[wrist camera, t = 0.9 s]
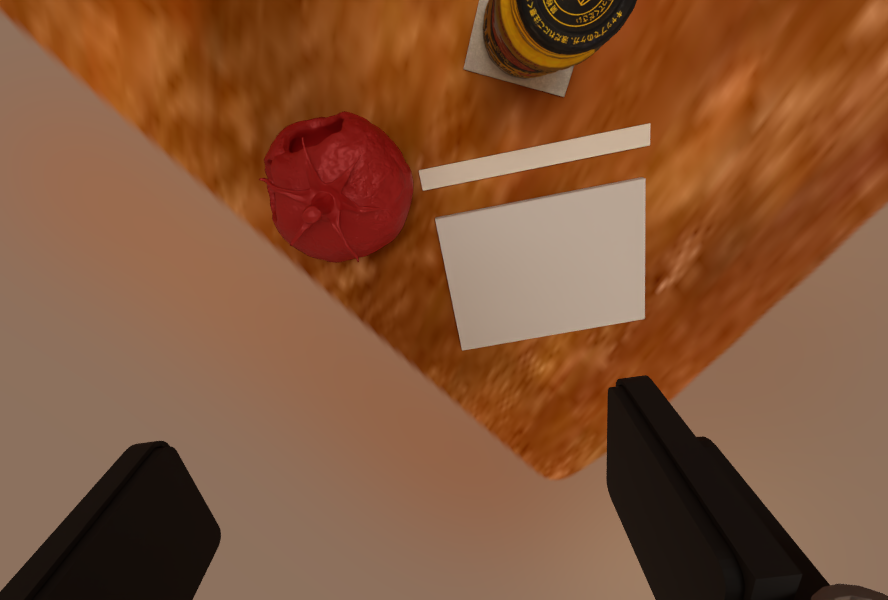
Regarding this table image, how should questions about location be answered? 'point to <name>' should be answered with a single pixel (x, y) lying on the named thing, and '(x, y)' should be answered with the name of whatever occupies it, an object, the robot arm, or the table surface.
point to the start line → (536, 157)
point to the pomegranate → (337, 187)
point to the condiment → (541, 38)
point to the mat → (547, 264)
